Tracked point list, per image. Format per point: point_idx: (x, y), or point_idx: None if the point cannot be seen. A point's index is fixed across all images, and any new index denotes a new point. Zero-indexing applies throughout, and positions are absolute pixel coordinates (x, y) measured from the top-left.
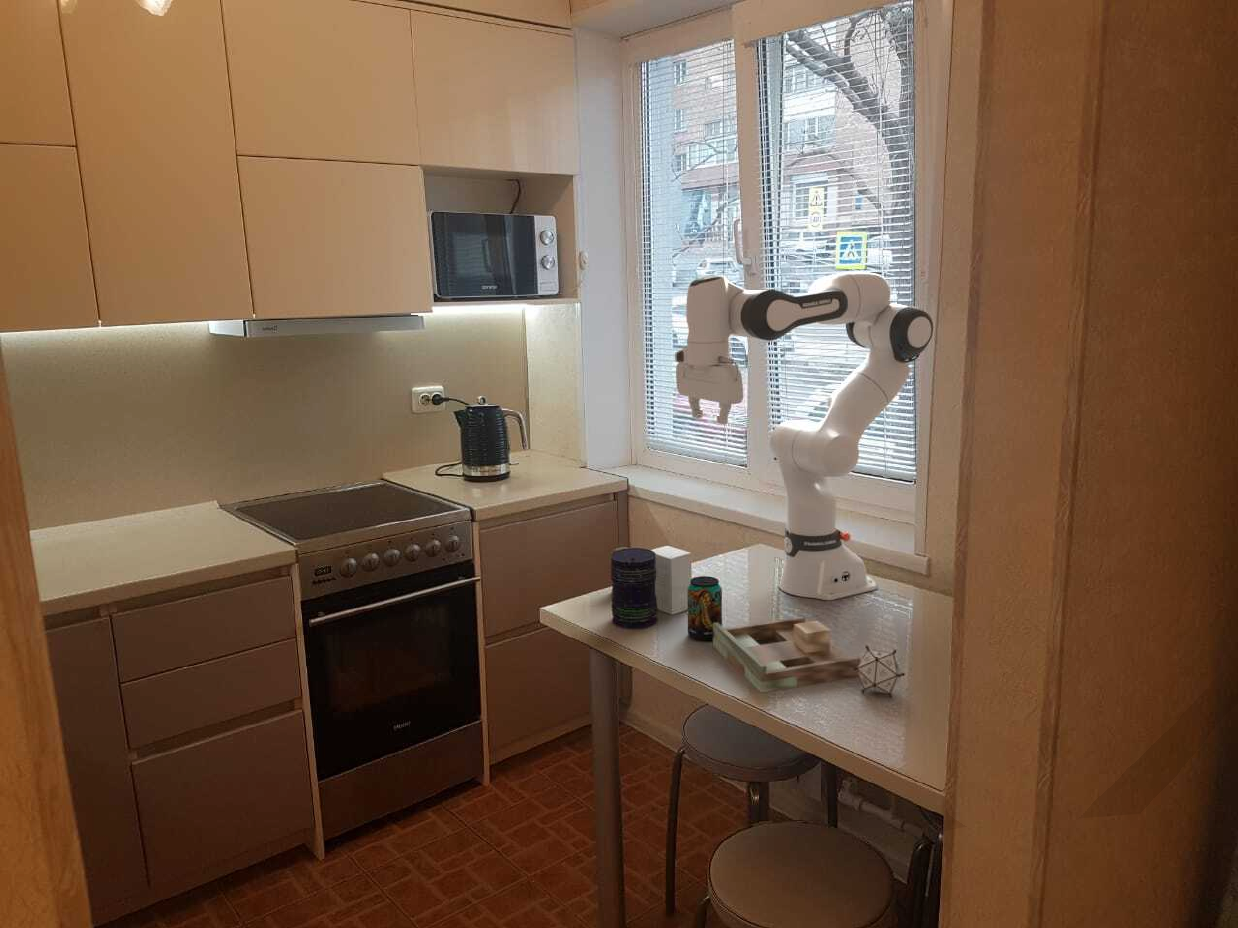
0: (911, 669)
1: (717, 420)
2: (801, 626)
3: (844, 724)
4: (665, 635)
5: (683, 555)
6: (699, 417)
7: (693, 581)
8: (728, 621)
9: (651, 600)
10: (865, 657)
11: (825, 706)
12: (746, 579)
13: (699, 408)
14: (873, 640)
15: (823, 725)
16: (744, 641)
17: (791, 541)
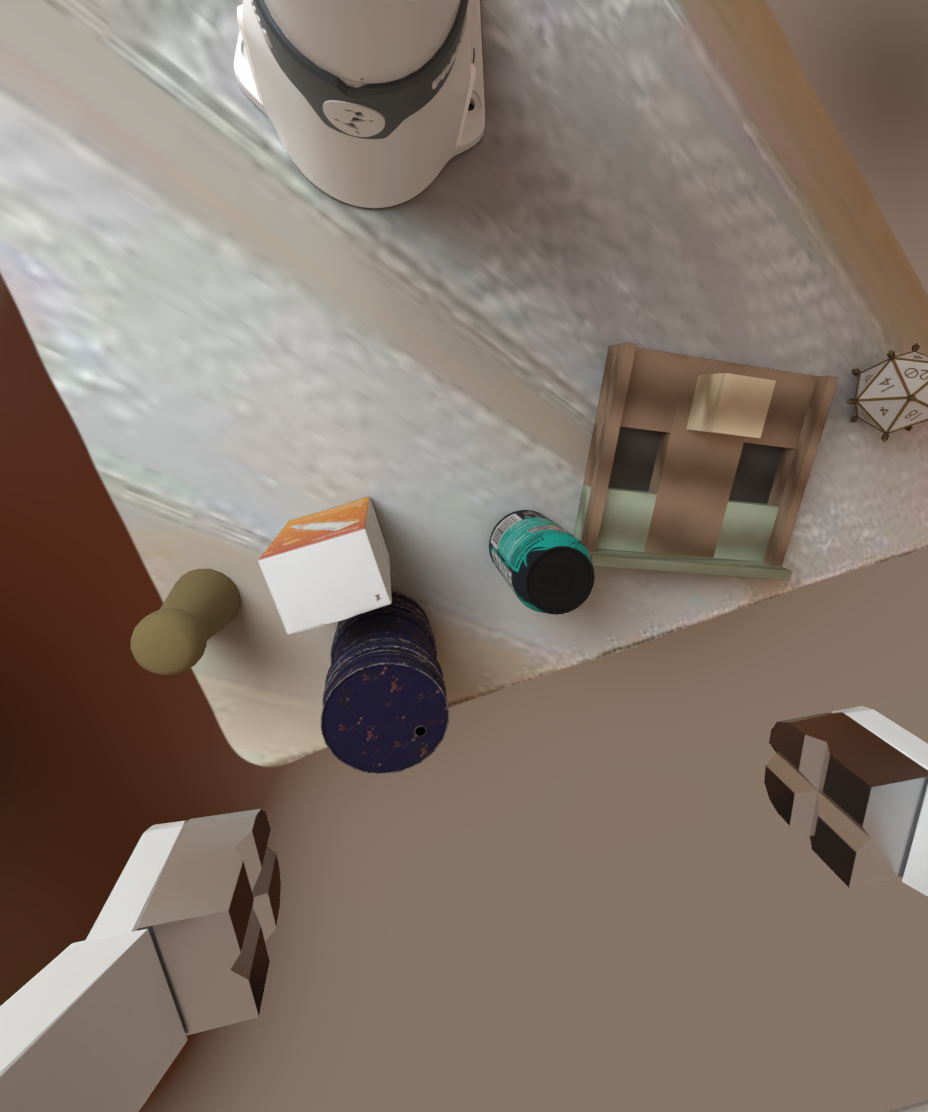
0: (849, 266)
1: (806, 825)
2: (729, 425)
3: (890, 509)
4: (481, 609)
5: (375, 558)
6: (263, 843)
7: (547, 605)
8: (478, 460)
9: (428, 637)
10: (906, 412)
11: (841, 501)
12: (218, 240)
13: (144, 960)
14: (720, 228)
15: (874, 537)
16: (627, 512)
17: (379, 110)
